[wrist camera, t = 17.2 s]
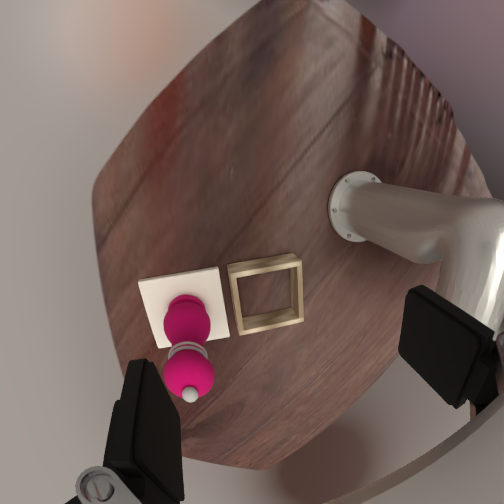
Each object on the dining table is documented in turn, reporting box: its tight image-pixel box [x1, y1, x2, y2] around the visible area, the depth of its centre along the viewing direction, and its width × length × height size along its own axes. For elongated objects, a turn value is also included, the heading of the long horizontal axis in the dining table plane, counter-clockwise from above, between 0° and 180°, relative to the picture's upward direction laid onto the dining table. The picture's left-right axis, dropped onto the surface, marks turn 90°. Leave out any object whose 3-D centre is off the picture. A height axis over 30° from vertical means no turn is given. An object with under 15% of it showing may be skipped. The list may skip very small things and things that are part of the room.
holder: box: [227, 253, 304, 335], centre depth 46 cm, size 11×11×4 cm
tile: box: [138, 266, 230, 348], centre depth 45 cm, size 13×13×1 cm
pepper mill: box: [163, 295, 214, 402], centre depth 36 cm, size 7×7×20 cm
